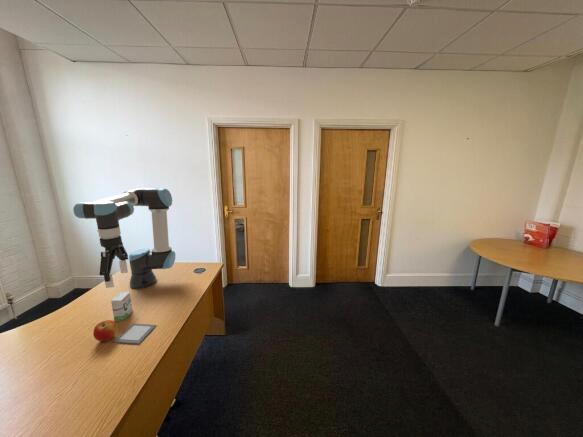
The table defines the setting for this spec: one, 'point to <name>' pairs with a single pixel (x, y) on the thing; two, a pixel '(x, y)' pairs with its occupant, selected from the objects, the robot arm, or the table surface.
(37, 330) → the table surface
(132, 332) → the coaster
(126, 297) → the ink box
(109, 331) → the apple
